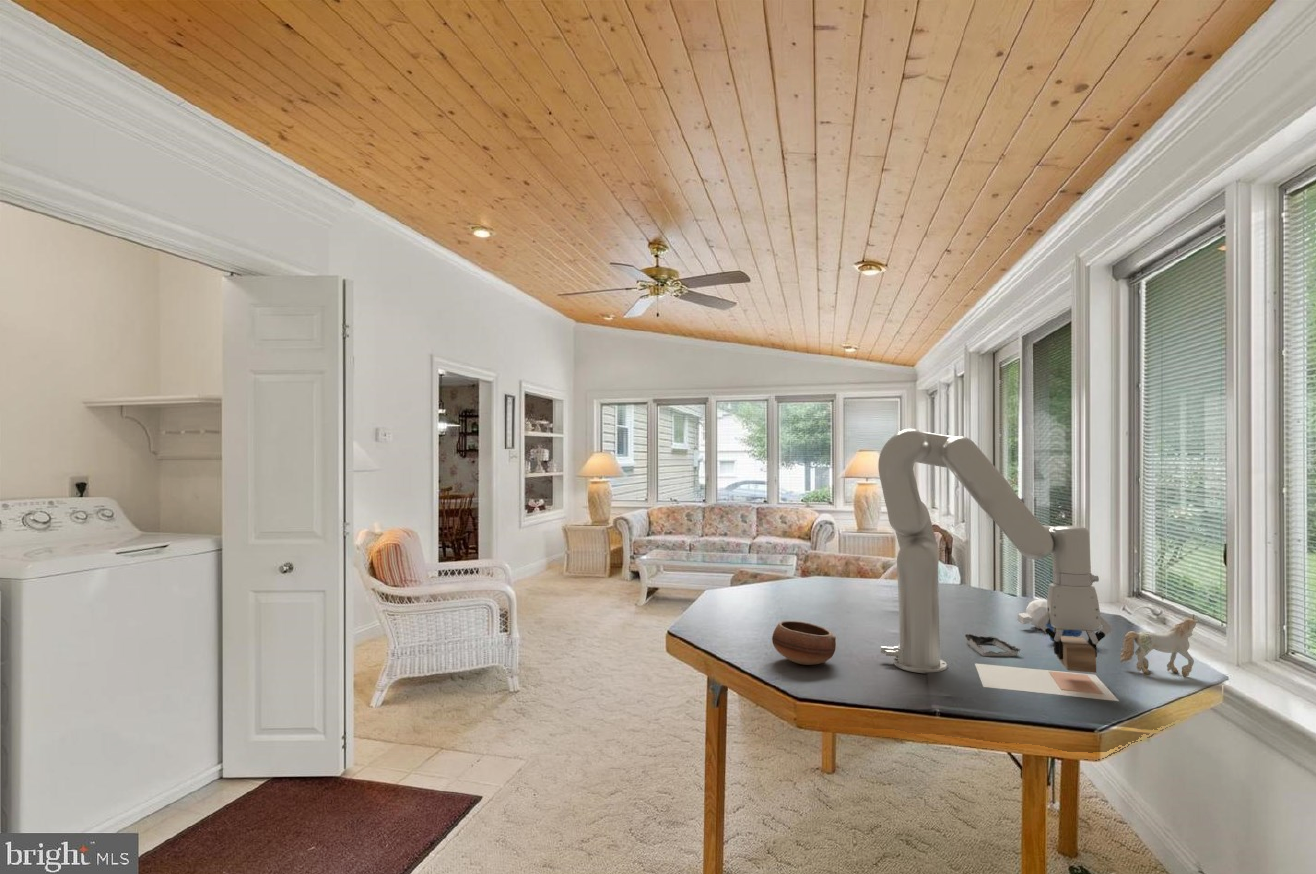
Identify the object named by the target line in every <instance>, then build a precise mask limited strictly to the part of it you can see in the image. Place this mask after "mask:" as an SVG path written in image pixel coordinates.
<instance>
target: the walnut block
mask: <svg viewBox="0 0 1316 874" xmlns="http://www.w3.org/2000/svg"><path fill="white" fill-rule="evenodd" d="M1060 639H1061V641H1062V645H1063V659H1059V658H1058V657H1057V654H1055V656H1056V658H1057V659H1058V660H1059V661H1060V663H1061V664H1062V665H1063V666H1064V667H1065V669H1066V670H1067V671H1068V672H1085V673H1094V674H1095V673H1097V657H1096V652H1095V649H1094V648H1093V647H1092V646H1091V645H1090V644H1089V643H1088V642H1087V641H1088V640H1085V638H1084V637H1082V636H1078V637H1074V636H1061V638H1060Z"/></svg>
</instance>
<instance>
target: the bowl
mask: <svg viewBox="0 0 1316 874" xmlns="http://www.w3.org/2000/svg"><path fill="white" fill-rule="evenodd" d="M771 639H772V641H771V642H772V645H773V647H774V649H775V650H776V651H777V652H778V653H779V654H780V655H781V656H782V657H784V658H786V659H788V661H791V662H793V663H795V664H799V665H804V666H815V665H819V664H822V663H825V662H827V661H828V660H830V659H831V658H833V656H834V654H835V652H836V646H837V645H836V644H837V643H836V636H835V635H833V633H832V632H831V631H830V630H828V629H827V628H825V627H822V626H820V625H817V624H814V623H810V622H804V621H796V620H783V621H780V622H779V623H778V624H777V625H776V627H775V628H774V631H773V633H772V637H771Z"/></svg>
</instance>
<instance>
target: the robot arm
mask: <svg viewBox="0 0 1316 874" xmlns="http://www.w3.org/2000/svg"><path fill="white" fill-rule="evenodd" d="M915 463H916V464H917V463H918V464H924V465H929V466H935V467H941V468H947V469H949V471H950V472H951V473H952V474H953V475H954V476H955V478H956V479H957V480H958V481H959V482H960V484H961V485H962V486H963V488H965V489H966V491H967V493H969V494H970V496H971V497H972V498H973V499H974V501H975V502H976V503H977V504H978V506H979V507H980V508H981V509H982V510H983V511H984V512H985V513H986V514H987V515H988V516H989V517H990V518H991V519H992V521H994V523H995V524H996V525H997V526H998V527H999V529H1000V530H1001V531H1002V533H1004V535H1005V536H1006V537H1007V538H1008V540H1009V541H1010V542H1011V543H1012V544H1013V546H1014V547H1015V548H1016V550H1017V551H1018V552H1019V553H1020V554H1021V555H1022V556H1023V557H1025V558H1027V559H1031V560H1035V561H1036V560H1042V559H1045V558H1048V556H1050V555H1051V560H1052V563H1051V564H1052V581H1053V582H1052V583H1049V584H1048V590H1047V596H1046V597H1047V599H1046V600H1047V613H1046V614H1045V615H1044V616H1043V617H1042V618H1041V619H1040V620H1039V621H1038V622H1037V623H1036V624H1037V625H1038V626H1039V627H1040V628H1041V629H1040V630H1042V631H1043V632H1044V631H1045V632H1046V633H1047V635H1048V636H1049V638H1050V637H1051V638H1053V639H1054V642H1053V653H1054V655H1056V654H1057V655H1056V658H1057V657H1058V658H1059V659H1063V645H1062V641H1061V639H1060V638H1061V636H1062V633H1063V630H1077V631H1082V632H1085V633H1086V635H1087V637H1088V639H1087V640H1086V641H1087V642H1088V643H1089V644H1090V645H1091V646H1092V647H1093V648H1094V649H1095V652H1096V658H1097V657H1098V654H1097V651H1098V650H1097V645H1098V644H1099V642H1100V641H1101V640H1103V639H1104V638H1105V637H1106V635H1108V634H1111V632H1113V631H1114V628H1113V626H1111V625H1110V624H1109V622H1107V621H1106V620H1105V619H1104V617H1102V616H1101V611H1100V604H1099V603H1100V602H1099V599H1098V595H1097V591H1096V588H1095V586H1094V585H1093V583H1095V582H1096V583H1097V582H1098V583H1099V579H1100V578H1099V576H1098V575H1094V574H1093V573H1092V566H1091V564H1092V563H1091V545H1090V542H1091V541H1090V533H1089V530H1088V529H1087V528H1085V527H1083V526H1078V525H1057V526H1052V525H1045V524H1042V523H1041V522H1040V521H1039V520H1038V519H1037V517H1036V516H1035V515H1034V514H1033V512H1031V510H1030V509H1029V508H1028V507H1027V506H1026V505H1025V504H1024V502H1023V501H1022V499H1020V497H1019V496H1018V495H1017V493H1016V492H1015V490H1014V487H1012V485H1011V484H1010V483H1009V482H1008V480H1007V479H1006V478H1005V476H1003V474H1001V472H1000V471H999V470H998V469H997V468H996V466H995V465H994V464H993V463H992V462H991V461H990V460H989V458H988V457H987V456H986V455H985V454H984V452H983V451H982V450H981V449H980V448H979V446H978V445H977V444H976V443H975V442H974V441H973V440H972V439H970V438H968V437H966V436H963V435H962V436H961V435H959V436H953V435H945V434H944V435H943V434H937V433H932V432H927V431H922V430H918V429H917V428H905V429H902V430H900V431H898V432H897V433H895V434H894V435H892V436H891V438H889V440H888V441H886V442H885V444H884V445H883V446H882V449H881V451H880V453H879V458H878V464H877V465H878V466H877V467H878V476H879V480H880V485H881V490H882V494H883V498H884V499H883V500H884V503H885V507H886V512H887V517H888V522H889V525H890V527H892V529H893V531H895V535H896V539H897V542H898V547H899V550H898V553H897V555H896V556H897V557H896V573H897V589H898V592H897V594H898V597H897V598H898V626H899V627H898V635H899V636H898V638H899V643H897V645H894V646H888V645H887V646H886V645H885V646H884V645H881V646H880V653H881V655H885V656H887V657H893V661H892V662H893V665H894V666H895V667H897V668H899V669H901V670H904V671H907V672H911V673H919V674H928V673H939V672H944V671H946V670H947V669H948V663H947V662H946V661H945V660H943V659H942V658H941V636H940V635H941V633H940V630H941V629H940V627H941V626H940V598H939V597H940V595H939V590H940V589H939V563H940V550H939V547H938V542H937V538H936V535H935V530H934V526H933V522H932V519H931V516H930V513H929V510H928V508H927V505H926V504H925V503H924V502H923V501H922V498H921V496H920V492H919V489H918V484H917V480H916V477H915V472H914V466H915ZM1047 622H1048V623H1050V624H1051V626H1052V627H1054V630H1053V631H1052V630H1051V629H1050V628H1048V627H1047V626H1046V623H1047ZM1045 632H1044V633H1045ZM1046 633H1045V634H1046ZM1058 658H1057V659H1058ZM1059 659H1058V660H1059Z"/></svg>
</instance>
